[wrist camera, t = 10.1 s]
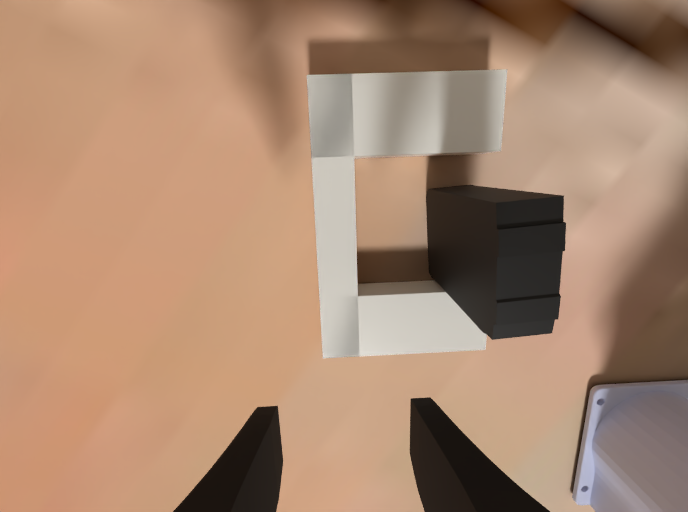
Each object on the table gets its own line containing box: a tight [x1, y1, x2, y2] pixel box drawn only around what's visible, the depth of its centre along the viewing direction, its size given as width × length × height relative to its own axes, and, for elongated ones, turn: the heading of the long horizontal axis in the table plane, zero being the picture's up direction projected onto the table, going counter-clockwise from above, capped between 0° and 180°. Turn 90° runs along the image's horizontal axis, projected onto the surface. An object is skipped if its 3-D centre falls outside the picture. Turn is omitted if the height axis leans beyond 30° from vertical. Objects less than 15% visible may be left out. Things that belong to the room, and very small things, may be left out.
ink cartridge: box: [426, 185, 566, 340], centre depth 14 cm, size 5×2×8 cm, turn 5°
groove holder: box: [307, 69, 507, 358], centre depth 17 cm, size 14×9×2 cm, turn 2°
